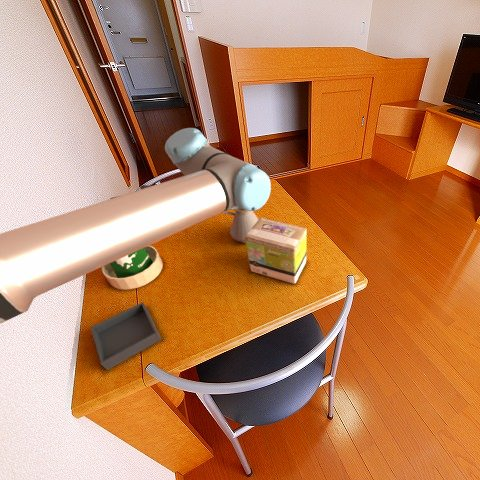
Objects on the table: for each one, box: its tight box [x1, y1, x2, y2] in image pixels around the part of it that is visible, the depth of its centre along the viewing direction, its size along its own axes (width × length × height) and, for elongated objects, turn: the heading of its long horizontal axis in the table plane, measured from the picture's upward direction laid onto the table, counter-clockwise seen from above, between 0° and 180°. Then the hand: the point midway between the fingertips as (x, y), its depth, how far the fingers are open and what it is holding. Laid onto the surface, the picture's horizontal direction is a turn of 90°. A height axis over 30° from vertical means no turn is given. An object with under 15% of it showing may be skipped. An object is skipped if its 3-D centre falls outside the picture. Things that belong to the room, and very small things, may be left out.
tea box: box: [245, 216, 308, 285], centre depth 81 cm, size 15×10×15 cm, turn 72°
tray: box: [90, 301, 162, 371], centre depth 66 cm, size 12×12×3 cm
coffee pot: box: [221, 208, 260, 244], centre depth 92 cm, size 21×12×15 cm, turn 102°
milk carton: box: [110, 248, 153, 278], centre depth 76 cm, size 9×9×20 cm
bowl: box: [101, 245, 164, 291], centre depth 82 cm, size 14×14×4 cm
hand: (101, 221), depth 67 cm, fingers open, 13 cm apart
